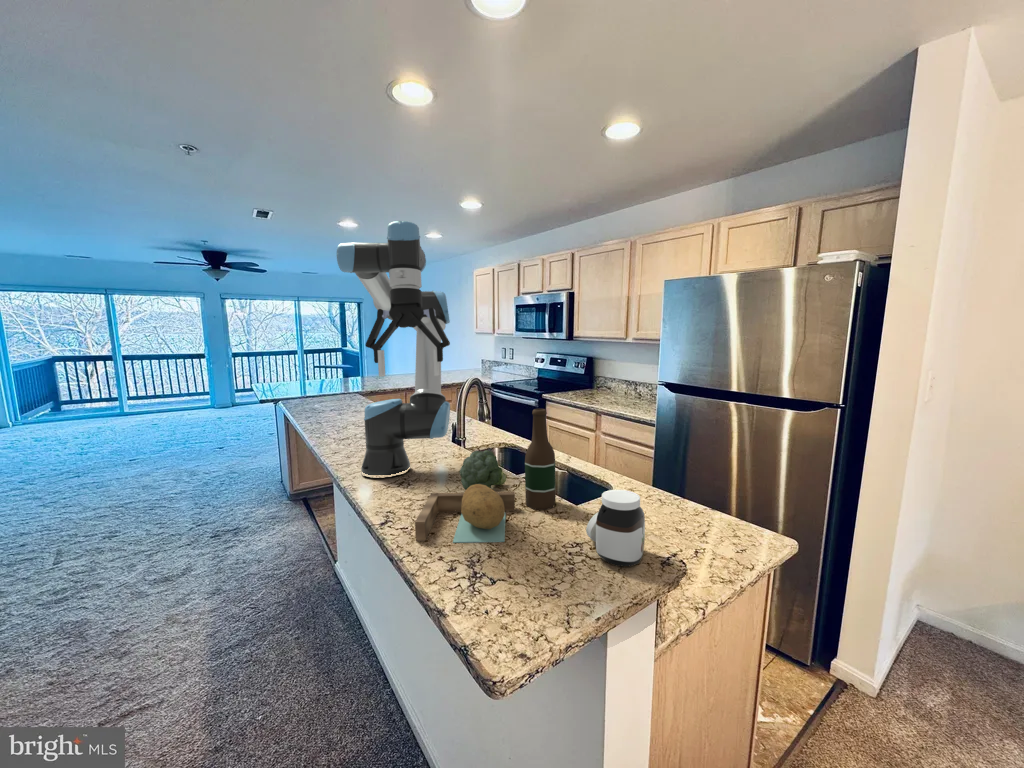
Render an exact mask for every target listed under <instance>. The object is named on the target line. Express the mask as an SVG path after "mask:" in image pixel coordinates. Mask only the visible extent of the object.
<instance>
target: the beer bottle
mask: <svg viewBox="0 0 1024 768" xmlns="http://www.w3.org/2000/svg"><path fill="white" fill-rule="evenodd" d="M531 415H532V431H531V432H532V434H531V435H532V437H531V442H530V444H529V446H527V449H526V452H525V456H524V485H525V486H524V487H525V488H524V489H525V495H524V496H525V504H526V507H528V508H530V509H532V510H539V511H546V510H549V509H553V508H555V504H556V498H557V497H556V495H557V494H556V488H557V487H556V486H557V485H556V455H555V454H556V453H555V451H554V448H553V446H552V444H551V443H550V441H549V437H548V428H547V416H546V415H548V412H547V409H545V408H534V409H533V410H532V413H531Z"/></svg>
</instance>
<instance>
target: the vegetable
mask: <svg viewBox="0 0 1024 768" xmlns="http://www.w3.org/2000/svg"><path fill="white" fill-rule="evenodd" d="M462 462H463V463H462V465H461V467H460V469H459V475H460V477H461V479H460V483H461V484H462V488H463V489H464V490H465V491H466V490H467V488H469V487H470V486H471V485H475V484H481V485H486V486H487V487H489V488H491V489H492V487H493V486H500V485H501V486H503V485H505V483H506V482H507V475H506V473H505V472H504V471H503V468H502V467H501V466H499V461H498V460H497V456H496V455H494V452H493V451H491V450H488V449H485V450H484V451H481V450H475V451H473V452H471V453H470V455H469V456H467V457H466V458H464V460H463V461H462Z"/></svg>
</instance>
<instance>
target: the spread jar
mask: <svg viewBox="0 0 1024 768" xmlns="http://www.w3.org/2000/svg"><path fill="white" fill-rule="evenodd" d="M645 527H646V517H645V512H644V510H643V508H642V506H641V496H640V495H639V494H638V493H636V492H634V491H630V490H627V489H609V490H607V491H603V493H601V506H600V508H599V509H598V512H596V513H595V514H594V515H593V516H592V517H591V518H590V520H589V521H588V522H587V525H586V530H585V533H586V535H587V536H588V537H589V538H590V540H591V541H592V542H595V549H596V553H597V555H598V556H599V557H600V558H601V559H602V560H604V562H607V563H608V564H610V565H612V564H613V565H612V566H616V565H617V566H616V567H622V566H628V567H633V566H636V565H638V564H639V563H640V562H641V561H642V558H643V555H644V552H645V551H644V549H645V544H646V543H645V540H646V539H645V538H646V535H645V533H646V532H645V531H646V528H645Z"/></svg>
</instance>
